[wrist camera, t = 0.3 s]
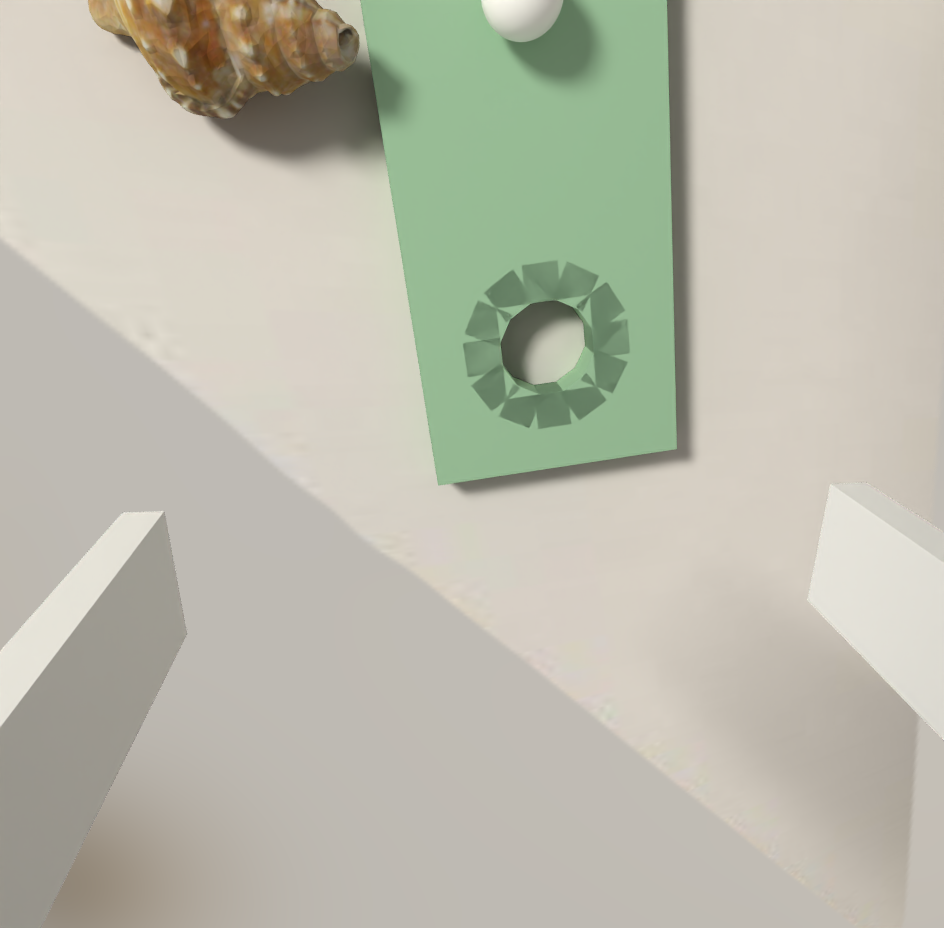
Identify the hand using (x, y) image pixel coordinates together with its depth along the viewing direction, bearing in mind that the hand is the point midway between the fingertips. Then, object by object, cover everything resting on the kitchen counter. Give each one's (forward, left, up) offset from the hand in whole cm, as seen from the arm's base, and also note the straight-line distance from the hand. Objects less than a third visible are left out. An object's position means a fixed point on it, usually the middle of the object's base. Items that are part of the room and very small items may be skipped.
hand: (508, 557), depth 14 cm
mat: (-5, +5, -27) cm, 28 cm away
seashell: (-15, -8, -27) cm, 32 cm away
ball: (-14, +5, -23) cm, 28 cm away
